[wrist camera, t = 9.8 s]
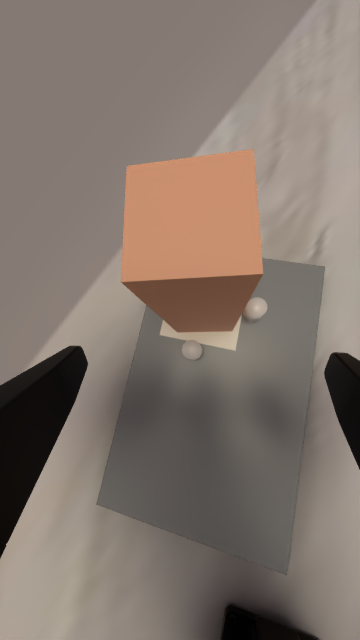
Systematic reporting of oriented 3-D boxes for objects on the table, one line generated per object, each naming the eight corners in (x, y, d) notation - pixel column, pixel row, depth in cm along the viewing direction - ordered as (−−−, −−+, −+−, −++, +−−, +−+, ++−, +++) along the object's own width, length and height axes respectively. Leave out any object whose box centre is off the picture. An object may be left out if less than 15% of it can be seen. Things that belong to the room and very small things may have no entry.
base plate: (281, 560, 16) (301, 615, 13) (103, 495, 19) (77, 526, 15) (318, 272, 20) (341, 251, 16) (164, 251, 22) (154, 229, 19)
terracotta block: (232, 331, 18) (263, 273, 7) (177, 332, 19) (120, 282, 7) (229, 278, 19) (253, 149, 8) (177, 281, 20) (126, 165, 8)
